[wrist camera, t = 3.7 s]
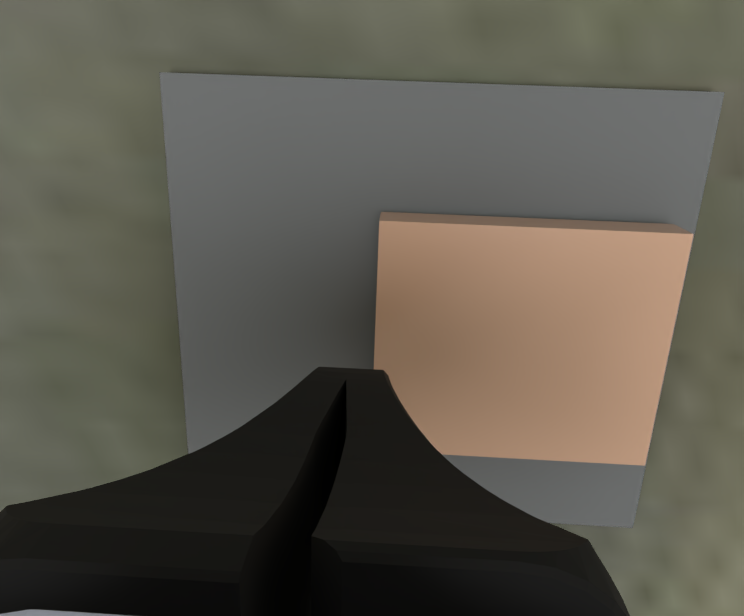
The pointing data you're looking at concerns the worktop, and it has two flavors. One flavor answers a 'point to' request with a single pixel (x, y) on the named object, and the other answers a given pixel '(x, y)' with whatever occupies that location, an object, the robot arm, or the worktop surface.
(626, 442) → the tile
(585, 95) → the mat
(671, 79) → the worktop surface
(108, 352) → the worktop surface
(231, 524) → the robot arm
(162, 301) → the worktop surface
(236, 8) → the worktop surface
